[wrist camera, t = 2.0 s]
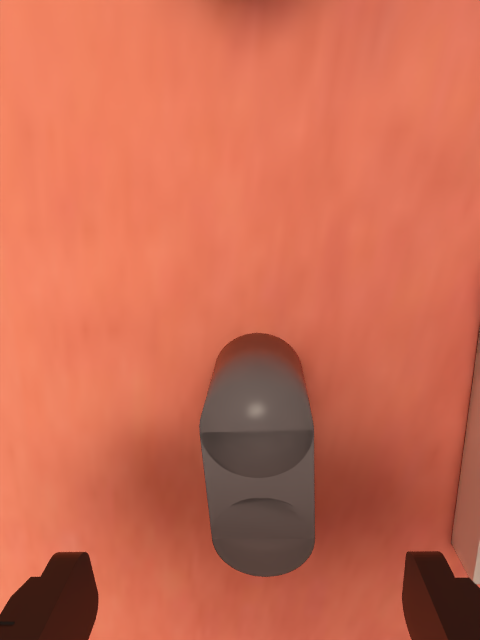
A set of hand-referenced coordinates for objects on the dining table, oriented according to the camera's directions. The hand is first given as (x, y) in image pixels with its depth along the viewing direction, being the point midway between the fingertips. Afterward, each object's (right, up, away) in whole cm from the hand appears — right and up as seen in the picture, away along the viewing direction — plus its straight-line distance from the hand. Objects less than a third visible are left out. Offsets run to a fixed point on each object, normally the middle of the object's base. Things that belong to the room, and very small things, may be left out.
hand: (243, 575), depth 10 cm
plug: (+1, +2, +7) cm, 7 cm away
